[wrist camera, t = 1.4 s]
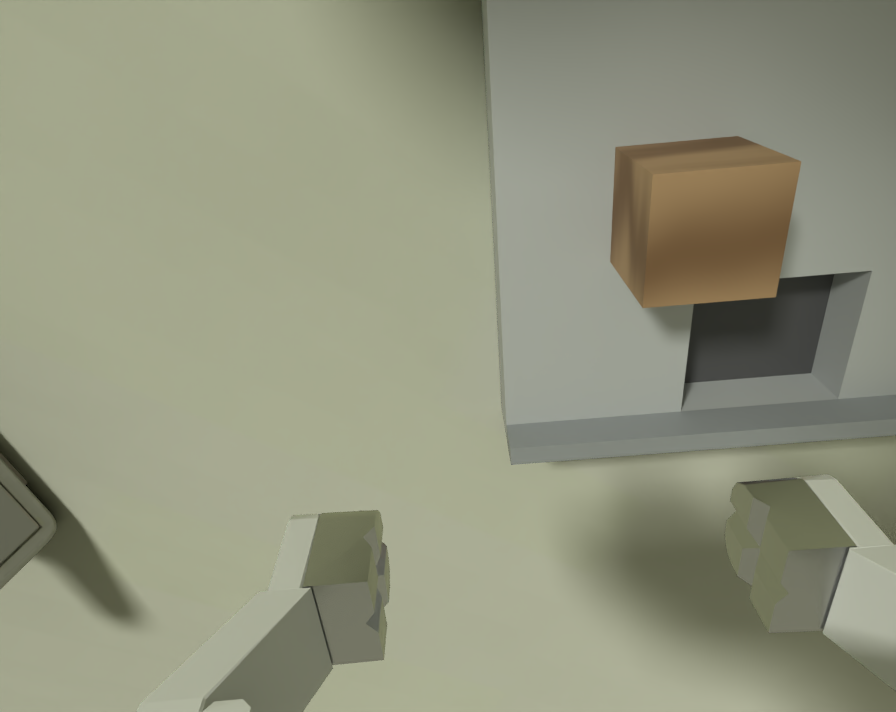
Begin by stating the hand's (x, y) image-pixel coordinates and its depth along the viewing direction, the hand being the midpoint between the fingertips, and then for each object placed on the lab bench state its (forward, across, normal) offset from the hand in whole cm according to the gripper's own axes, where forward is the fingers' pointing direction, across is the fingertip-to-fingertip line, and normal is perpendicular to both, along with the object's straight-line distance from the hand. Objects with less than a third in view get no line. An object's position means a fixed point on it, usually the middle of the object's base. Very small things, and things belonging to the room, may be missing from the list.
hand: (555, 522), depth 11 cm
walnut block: (+18, -8, 0) cm, 20 cm away
